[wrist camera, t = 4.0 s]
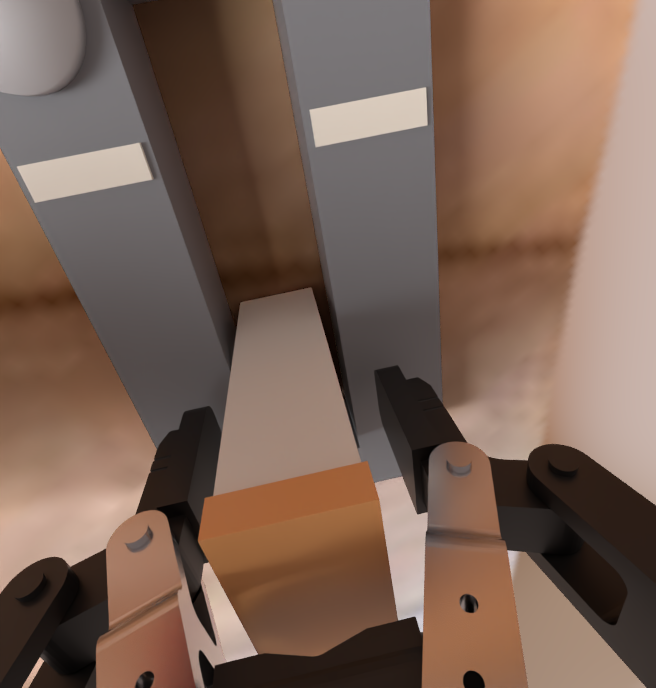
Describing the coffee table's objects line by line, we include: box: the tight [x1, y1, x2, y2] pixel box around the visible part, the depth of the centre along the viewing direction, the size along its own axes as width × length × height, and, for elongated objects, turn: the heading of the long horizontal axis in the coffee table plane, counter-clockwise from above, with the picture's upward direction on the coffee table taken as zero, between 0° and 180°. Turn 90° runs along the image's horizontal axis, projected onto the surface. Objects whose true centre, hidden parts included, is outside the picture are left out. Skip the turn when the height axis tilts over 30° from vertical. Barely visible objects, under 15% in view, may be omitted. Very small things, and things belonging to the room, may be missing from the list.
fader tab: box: [198, 287, 398, 656], centre depth 11 cm, size 3×5×10 cm, turn 9°
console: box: [0, 0, 443, 483], centre depth 12 cm, size 10×18×4 cm, turn 9°
